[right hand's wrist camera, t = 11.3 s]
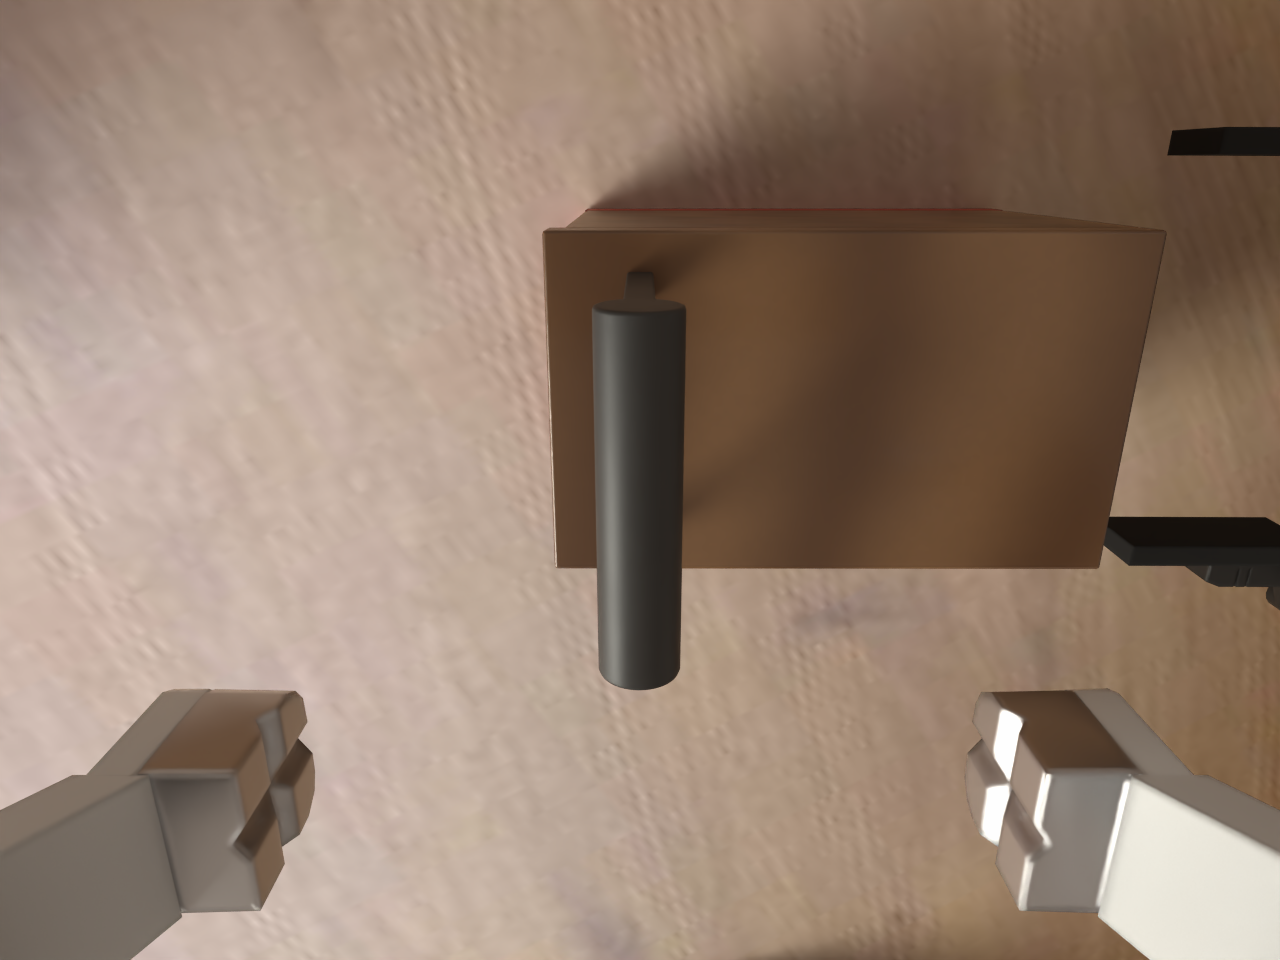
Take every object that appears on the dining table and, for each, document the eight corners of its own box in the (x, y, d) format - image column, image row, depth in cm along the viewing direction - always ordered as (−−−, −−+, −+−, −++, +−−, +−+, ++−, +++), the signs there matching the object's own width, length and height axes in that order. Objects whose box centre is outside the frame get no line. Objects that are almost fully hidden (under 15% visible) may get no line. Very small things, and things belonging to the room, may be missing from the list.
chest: (592, 445, 37) (573, 551, 27) (587, 208, 34) (563, 226, 24) (958, 445, 37) (1080, 552, 27) (990, 208, 34) (1143, 226, 24)
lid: (558, 552, 27) (519, 727, 18) (546, 227, 24) (493, 260, 15) (1080, 552, 27) (1280, 728, 18) (1143, 227, 23) (1422, 260, 15)
